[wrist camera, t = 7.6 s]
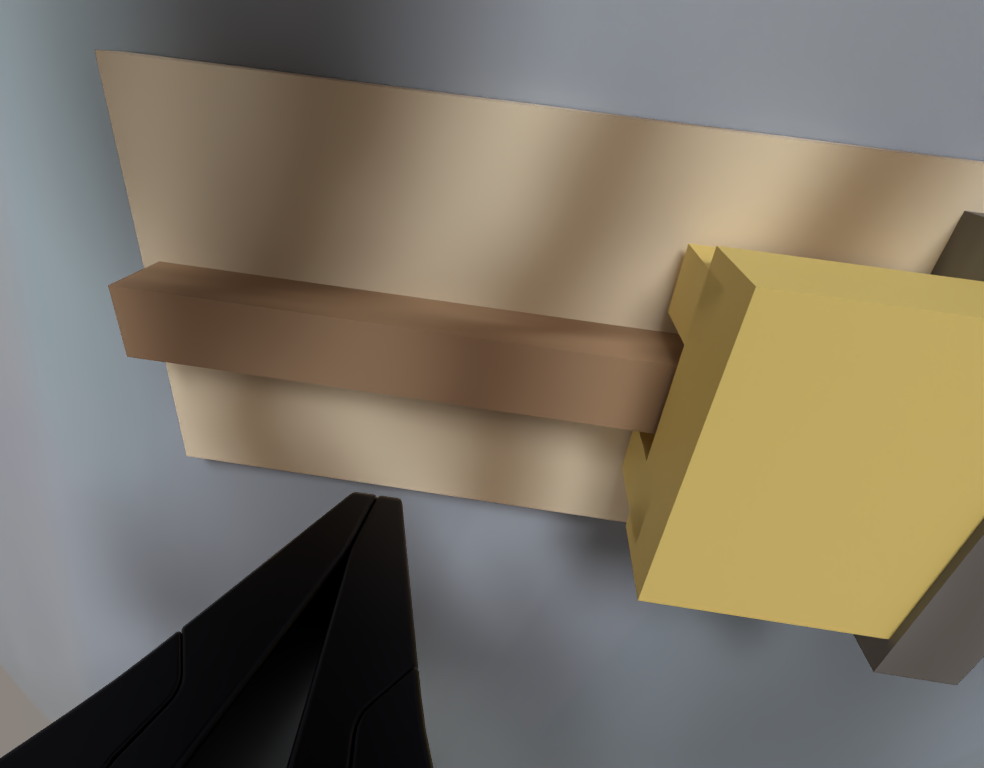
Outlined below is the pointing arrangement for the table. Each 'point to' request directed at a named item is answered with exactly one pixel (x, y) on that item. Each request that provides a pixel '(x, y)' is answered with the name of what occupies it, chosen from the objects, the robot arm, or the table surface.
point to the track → (481, 281)
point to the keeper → (810, 441)
